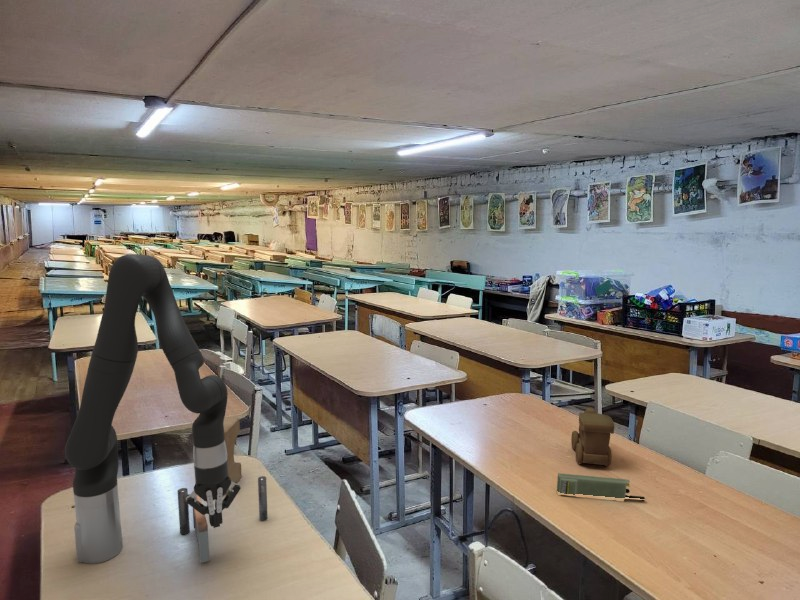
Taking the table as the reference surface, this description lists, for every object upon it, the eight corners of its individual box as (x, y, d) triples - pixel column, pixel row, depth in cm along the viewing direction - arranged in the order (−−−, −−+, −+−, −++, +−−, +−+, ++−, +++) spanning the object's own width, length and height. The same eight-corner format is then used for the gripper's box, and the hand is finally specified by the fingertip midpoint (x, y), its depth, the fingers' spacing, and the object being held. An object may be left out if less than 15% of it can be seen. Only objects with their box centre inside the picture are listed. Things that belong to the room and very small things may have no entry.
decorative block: (225, 475, 167) (222, 416, 164) (242, 476, 167) (240, 417, 163) (209, 493, 156) (206, 430, 153) (228, 495, 156) (225, 431, 152)
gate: (192, 526, 138) (190, 493, 137) (200, 524, 139) (198, 491, 138) (200, 562, 124) (198, 526, 123) (209, 560, 125) (207, 524, 124)
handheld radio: (556, 491, 161) (642, 499, 157) (557, 497, 158) (645, 506, 154) (557, 471, 159) (644, 479, 155) (559, 477, 156) (648, 485, 152)
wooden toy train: (613, 473, 172) (617, 425, 169) (577, 470, 174) (580, 422, 171) (601, 447, 191) (605, 403, 189) (569, 444, 193) (572, 401, 191)
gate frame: (179, 536, 136) (177, 493, 134) (180, 530, 138) (177, 488, 136) (268, 520, 143) (266, 480, 141) (267, 515, 146) (265, 475, 144)
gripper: (235, 447, 131) (240, 510, 134) (178, 460, 125) (185, 526, 128) (242, 459, 125) (247, 525, 128) (183, 473, 118) (189, 542, 121)
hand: (216, 525), depth 128 cm, fingers closed
